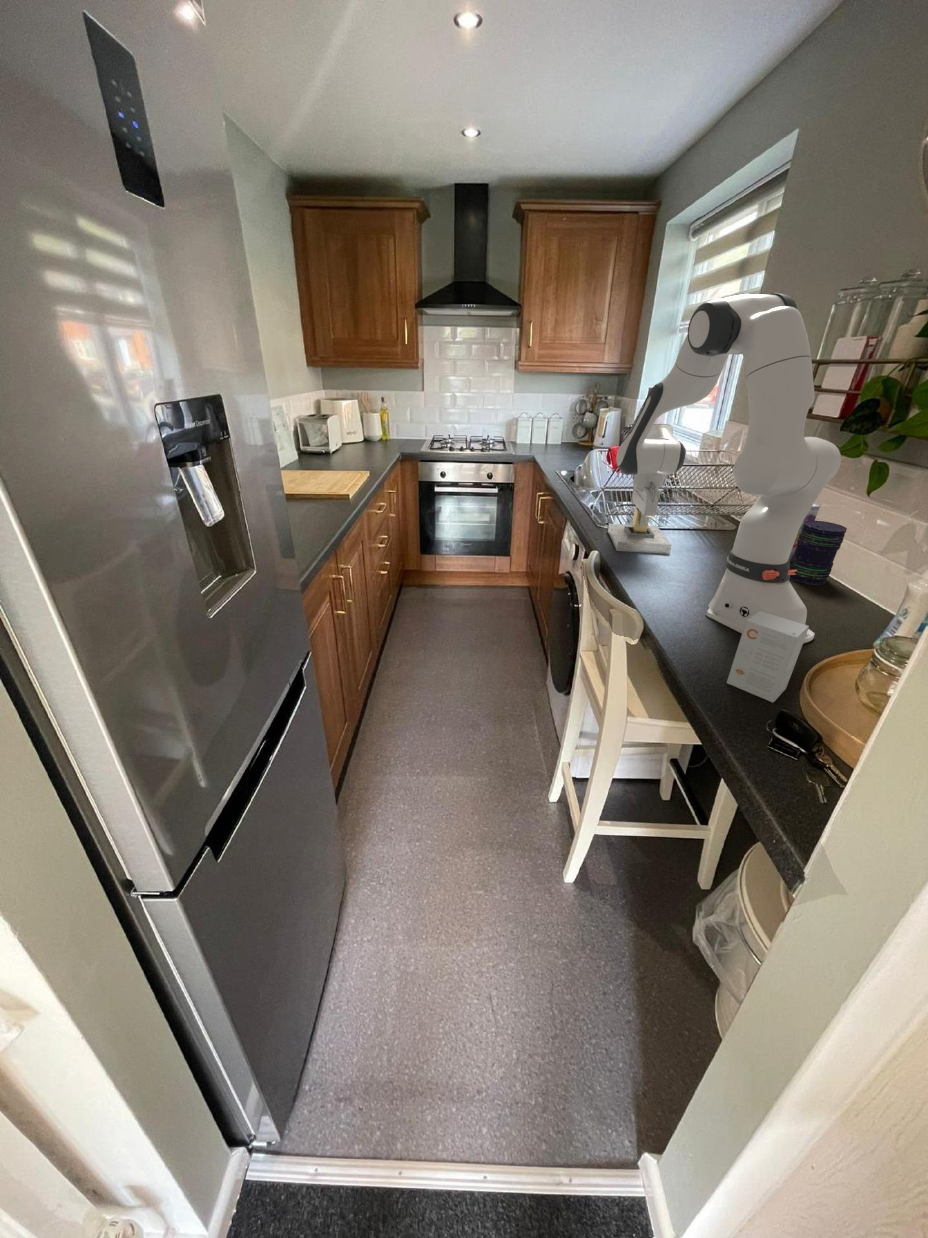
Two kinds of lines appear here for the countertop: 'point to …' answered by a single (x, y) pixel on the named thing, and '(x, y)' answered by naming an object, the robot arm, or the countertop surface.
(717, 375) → the robot arm
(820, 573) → the storage jar
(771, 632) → the small box
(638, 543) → the grey socket base
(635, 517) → the yellow tall rectangular block
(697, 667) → the countertop surface
